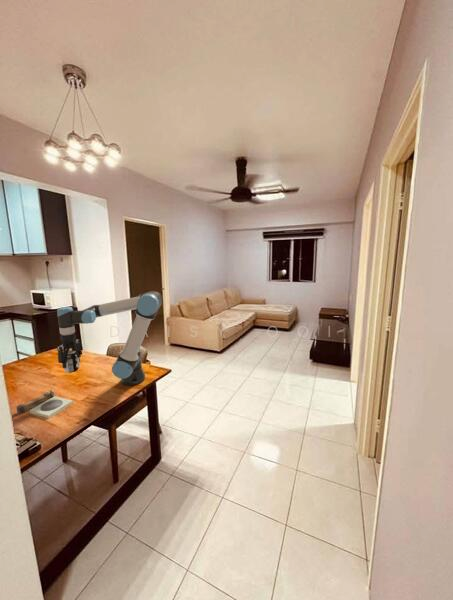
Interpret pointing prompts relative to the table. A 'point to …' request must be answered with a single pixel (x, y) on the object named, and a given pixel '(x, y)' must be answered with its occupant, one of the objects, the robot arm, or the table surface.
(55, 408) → the board
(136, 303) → the robot arm
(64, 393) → the table surface
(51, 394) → the hinge pin
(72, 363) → the beverage can
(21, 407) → the brown grey-ended bar
